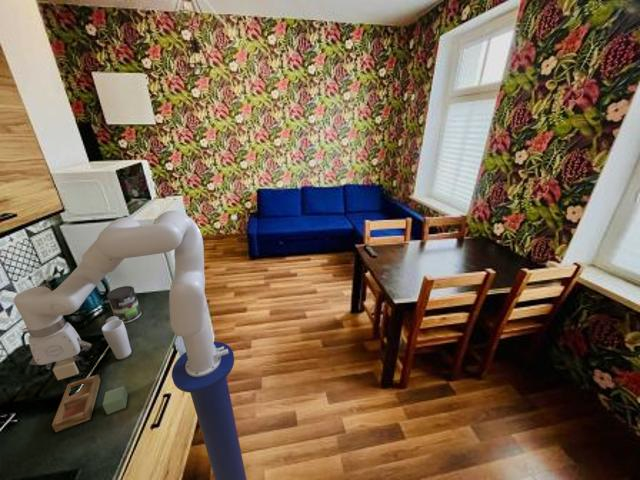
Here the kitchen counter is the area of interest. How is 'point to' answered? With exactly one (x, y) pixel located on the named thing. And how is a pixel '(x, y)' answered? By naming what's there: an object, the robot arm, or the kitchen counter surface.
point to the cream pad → (65, 368)
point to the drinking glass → (117, 338)
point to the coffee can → (124, 303)
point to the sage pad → (115, 400)
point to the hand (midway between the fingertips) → (70, 370)
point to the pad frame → (77, 404)
